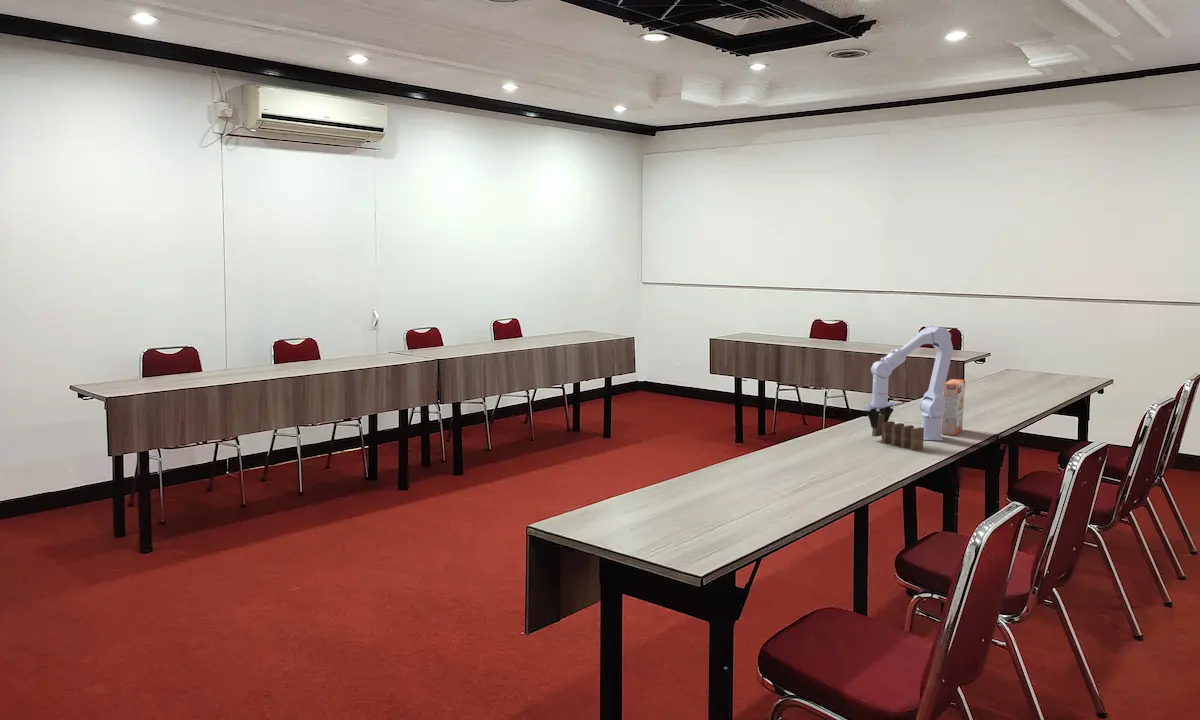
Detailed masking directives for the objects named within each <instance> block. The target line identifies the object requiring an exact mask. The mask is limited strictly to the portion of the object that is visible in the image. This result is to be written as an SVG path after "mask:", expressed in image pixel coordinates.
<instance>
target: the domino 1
mask: <svg viewBox="0 0 1200 720" xmlns="http://www.w3.org/2000/svg"><path fill="white" fill-rule="evenodd" d="M883 422H885V415H883V414H881V415H880V414H879V417H878V423H877V428H871V429H872V430H871V431H872V432H871V433H872V434H871V436H872V437H882V423H883Z"/></svg>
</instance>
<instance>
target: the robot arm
mask: <svg viewBox="0 0 1200 720" xmlns="http://www.w3.org/2000/svg"><path fill="white" fill-rule="evenodd" d="M951 338H952V334H951V333H950V331H949V330H948V329H947V328H945V327H943V326H935V325H931V324H930V325H927V326H926V327H925V328H923V329H921V330H920V331H919V332H918V334H917V335H915V336H914V337H913V338H911V340H909V341H908V342H906V343H905V345H903V346H902V347H901V348H895V349H891V350H889V353H888V354H887V355H886V356H884V357H881V358H880V360H877V361H875V362H874V363H872V366H871V367H870V372H871V374H872V392H871V394H872V396H871V397H872V399H871V401H870V403H868V404H865V405H864V411H865V414H867V416H868V419H869V423H870V426H871V429H873V428H877V423H878V417H879V415H881V414H883V415H885V422H889V421H890V417H891V416H892V415H891V414H892V413H893V412H894V408H895V401H888V400H889V399H888V398H889V377H890V376H891V374H892V372H893V370H895V369H896V368H897V367H898V366H900V365H901V364H903V363H904V362H905V361H906V359H907V356H908V355H909V354H911V353H913V352H914V351H916V350H917V349H919V348H920V347H921V346H923V345H932V346H933V348H934V349H935V351H936V356H935V359H934V363H933V368H932V373H931V377H930V380H929V385H928V389H927V391H926V392H925V393H924V394H923V397H922V399H920V401H919V404H918V405H919V410H920V411H921V428H924V438H923V441H937V442H938V441H940V442H941V441H944V439H943V436H942V434H941V429H942V415H943V414H944V413H945V398H944V386H945V383H946V382H947V377H948V374H949V373H948V372H949V369H950V364H951V360H952V355H953V352H954V347H953V343H952V339H951Z"/></svg>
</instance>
